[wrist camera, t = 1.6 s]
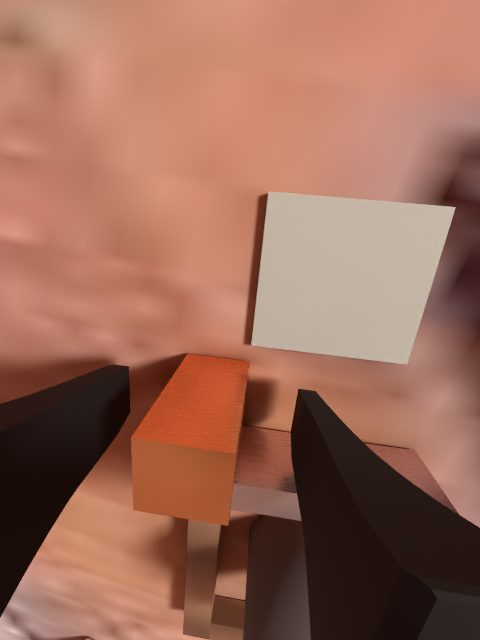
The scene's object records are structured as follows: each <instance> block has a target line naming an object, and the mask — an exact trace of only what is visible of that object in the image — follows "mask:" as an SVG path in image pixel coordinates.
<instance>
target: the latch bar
mask: <svg viewBox="0 0 480 640" xmlns="http://www.w3.org/2000/svg"><path fill="white" fill-rule="evenodd" d="M248 370H249V361H242V360H234V359H226V358H218V357H210V356H203V355H195V354H187V356H186V357H185V359H184V360H183V361H182V363H181V364H180V366H179V367H178V369H177V370H176V372H175V373H174V375H173V376H172V378H171V379H170V381H169V382H168V384H167V385H166V387H165V388H164V390H163V391H162V393H161V394H160V396H159V397H158V398H157V400H156V401H155V403H154V404H153V406H152V407H151V409H150V410H149V412H148V413H147V415H146V416H145V418H144V419H143V421H142V422H141V424H140V425H139V427H138V428H137V430H136V431H135V433H134V434H133V435H132V437H131V456H132V482H133V509H134V510H135V511H141V512H147V513H153V514H159V515H165V516H171V517H177V518H183V519H189V520H195V521H201V522H207V523H213V524H219V525H225V526H228V524H229V517H230V509H231V510H238V511H244V512H250V513H256V514H262V515H268V516H274V517H281V518H287V519H293V520H299V521H301V515H300V509H299V503H298V497H297V491H296V485H295V479H294V472H293V466H292V459H291V435H290V434H291V433H289V432H282V431H275V430H268V429H261V428H254V427H247V426H242V421H243V414H244V406H245V397H246V388H247V379H248ZM364 444H366V443H364ZM366 445H367V446H368V447H369V448H370V449H371V450H372V451H373V452H374V453H375V454H377V455H378V456H379V457H380V458H381V459H383V460H384V461H385V462H386V463H387V464H389V465H390V466H391V467H392V468H393V469H395V470H396V471H397V472H398V473H400V474H401V475H402V476H404V477H405V478H406V479H408V480H409V481H410V482H412V483H413V484H414V485H416V486H417V487H419V488H420V489H421V490H423V491H424V492H426V493H427V494H428V495H430V496H431V497H433V498H434V499H436V500H437V501H439V502H440V503H442V504H443V505H445V506H446V507H448V508H449V509H451V510H452V511H454V512H455V513H457V514H458V512H457V511H456V509H455V508H454V507H453V505H452V504H451V502H450V501H449V499H448V498H447V496H446V495H445V493H444V492H443V490H442V489H441V488H440V486H439V485H438V483H437V482H436V480H435V479H434V477H433V476H432V474H431V473H430V471H429V470H428V469H427V467H426V466H425V464H424V463H423V461H422V460H421V458H420V457H419V455H418V454H417V452H416V451H415V450H409V449H402V448H395V447H388V446H381V445H374V444H366ZM458 515H459V514H458Z"/></svg>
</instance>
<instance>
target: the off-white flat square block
mask: <svg viewBox="0 0 480 640" xmlns="http://www.w3.org/2000/svg"><path fill="white" fill-rule="evenodd" d="M455 208H456V207H447V206H435V205H423V204H411V203H400V202H388V201H376V200H364V199H353V198H341V197H329V196H317V195H306V194H294V193H282V192H270V191H268V200H267V209H266V218H265V227H264V236H263V245H262V253H261V262H260V271H259V280H258V289H257V298H256V307H255V316H254V325H253V334H252V343H251V345H252V346H260V347H268V348H276V349H284V350H292V351H301V352H309V353H317V354H325V355H333V356H341V357H349V358H358V359H366V360H374V361H382V362H390V363H398V364H407V363H408V360H409V357H410V354H411V350H412V347H413V344H414V341H415V337H416V334H417V331H418V328H419V324H420V321H421V318H422V315H423V311H424V308H425V305H426V302H427V298H428V295H429V292H430V289H431V286H432V282H433V279H434V276H435V273H436V269H437V266H438V263H439V260H440V256H441V253H442V250H443V247H444V243H445V240H446V237H447V234H448V230H449V227H450V224H451V221H452V217H453V214H454V211H455Z"/></svg>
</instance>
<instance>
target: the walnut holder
mask: <svg viewBox="0 0 480 640" xmlns="http://www.w3.org/2000/svg"><path fill="white" fill-rule="evenodd" d="M220 536H221V525H219V524H213V523H207V522H201V521H195V520H189V519H188V537H187V559H186V581H185V603H184V625H183V634H184V635H189V636H195V637H200V638H205V639H210V640H243V630H244V614H245V601H242V600H236V599H231V598H225V597H220V596H215V587H216V577H217V567H218V556H219V546H220Z"/></svg>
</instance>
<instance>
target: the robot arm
mask: <svg viewBox="0 0 480 640" xmlns="http://www.w3.org/2000/svg"><path fill="white" fill-rule="evenodd" d="M129 413H130V387H129V367H128V366H120V365H111V366H107V367H104V368H101V369H98V370H96V371H93V372H90V373H88V374H85V375H82V376H80V377H77V378H75V379H72V380H69V381H67V382H64V383H62V384H59V385H56V386H53V387H50V388H48V389H45V390H42V391H39V392H36V393H33V394H31V395H28V396H25V397H22V398H19V399H15V400H12V401H9V402H5V403H2V404H0V617H1V615H2V613H3V612H4V610H5V608H6V606H7V604H8V603H9V601H10V599H11V597H12V595H13V594H14V592H15V590H16V588H17V586H18V585H19V583H20V581H21V579H22V577H23V576H24V574H25V572H26V570H27V568H28V567H29V565H30V563H31V562H32V560H33V558H34V557H35V555H36V553H37V552H38V550H39V548H40V546H41V545H42V543H43V541H44V540H45V538H46V536H47V535H48V533H49V531H50V530H51V528H52V526H53V525H54V523H55V522H56V520H57V518H58V517H59V515H60V514H61V512H62V510H63V509H64V507H65V505H66V504H67V502H68V501H69V499H70V498H71V496H72V495H73V494H74V492H75V491H76V489H77V488H78V487H79V485H80V484H81V483H82V481H83V480H84V479H85V477H86V476H87V475H88V473H89V472H90V471H91V469H92V468H93V467H94V465H95V464H96V463H97V461H98V460H99V459H100V457H101V456H102V455H103V453H104V452H105V451H106V449H107V448H108V447H109V445H110V444H111V443H112V441H113V440H114V438H115V437H116V436H117V434H118V433H119V431H120V429H121V427H122V426H123V424H124V422H125V420H126V419H127V417H128V415H129ZM290 435H291V459H292V466H293V472H294V479H295V485H296V491H297V497H298V503H299V509H300V515H301V521H302V528H303V536H304V545H305V559H306V572H307V586H308V601H309V617H310V634H311V640H480V528H479V527H478V526H476V525H474V524H473V523H471V522H470V521H468V520H466V519H465V518H463V517H462V516H460V515H458V514H457V513H455V512H454V511H452V510H451V509H449V508H448V507H446V506H445V505H443V504H442V503H440V502H439V501H437V500H436V499H434V498H433V497H431V496H430V495H428V494H427V493H426V492H424V491H423V490H421V489H420V488H419V487H417V486H416V485H414V484H413V483H412V482H410V481H409V480H408V479H406V478H405V477H404V476H402V475H401V474H400V473H398V472H397V471H396V470H395V469H393V468H392V467H391V466H390V465H389V464H387V463H386V462H385V461H384V460H383V459H381V458H380V457H379V456H378V455H377V454H375V453H374V452H373V451H372V450H371V449H370V448H369V447H368V446H367V445H366V444H364V443H363V442H362V441H361V440H360V439H359V438H358V437H357V436H356V435H355V434H354V433H353V432H352V431H351V430H350V429H349V428H348V427H347V426H346V425H345V424H344V423H343V422H342V421H341V419H340V418H339V417H338V416H337V415H336V414H335V413H334V412H333V411H332V410H331V408H330V407H329V406H328V405H327V404H326V403H325V402H324V400H323V399H322V398H321V397H320V396H319V395H318V394H317V393H316V392H315V391H311V390H303V389H298V395H297V400H296V406H295V411H294V417H293V423H292V428H291V434H290Z"/></svg>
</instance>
